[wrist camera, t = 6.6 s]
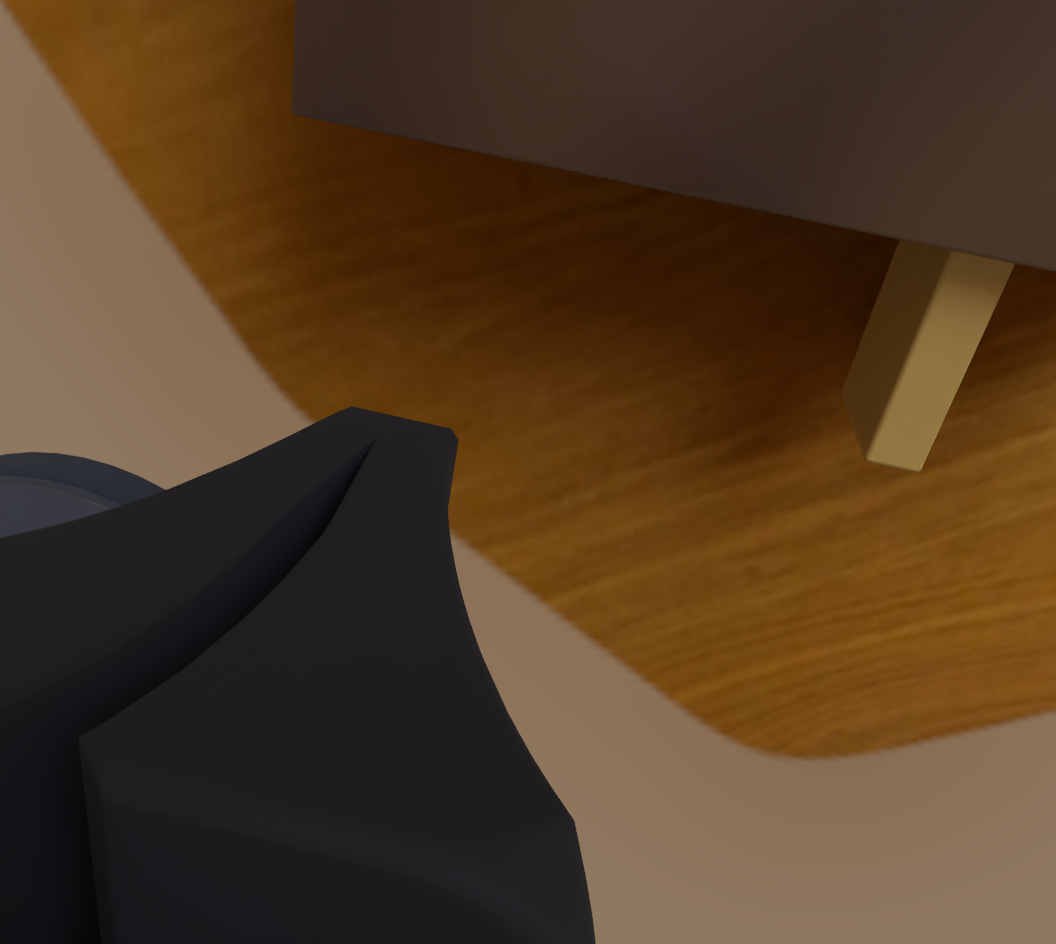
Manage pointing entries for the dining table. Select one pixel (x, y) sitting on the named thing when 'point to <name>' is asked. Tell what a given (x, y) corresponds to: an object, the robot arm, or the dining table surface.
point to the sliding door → (918, 349)
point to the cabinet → (726, 102)
